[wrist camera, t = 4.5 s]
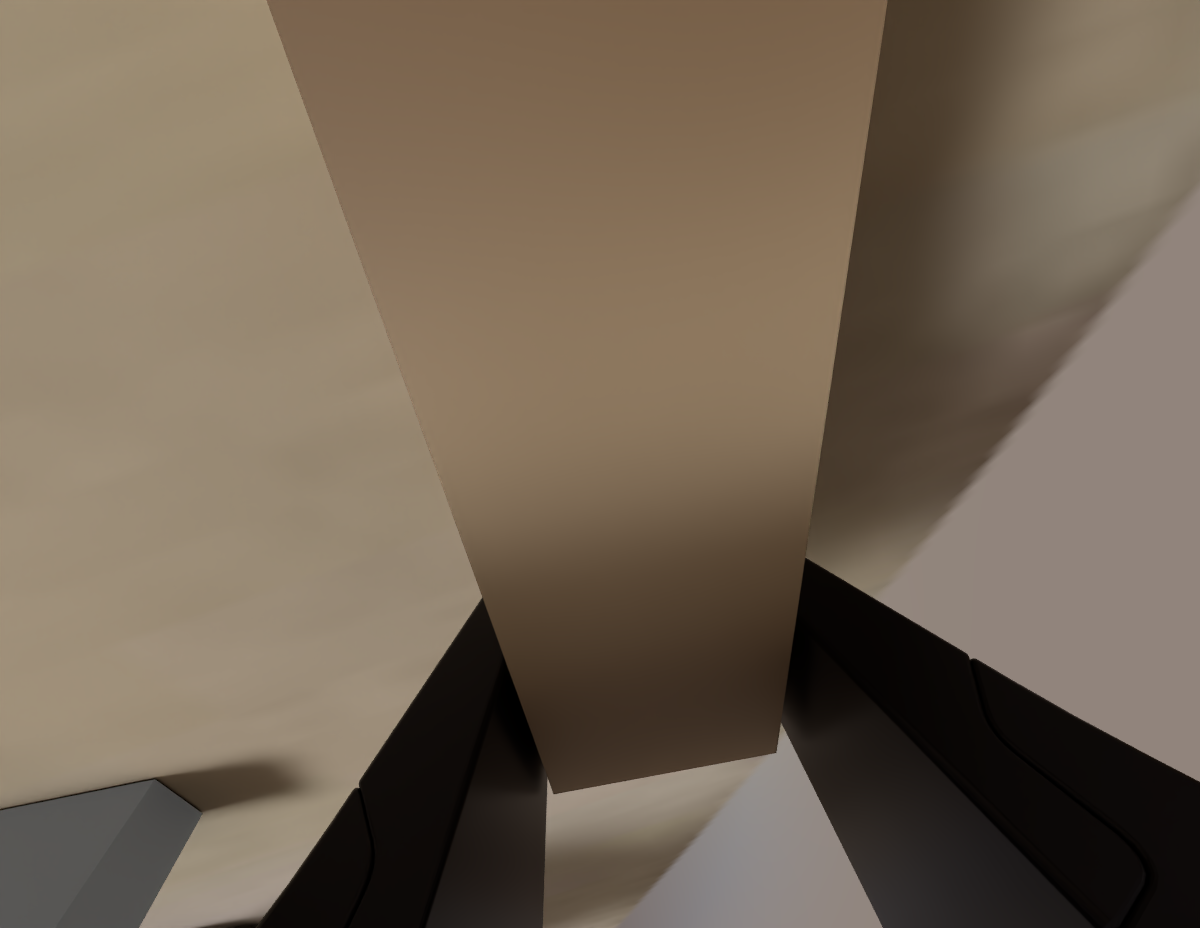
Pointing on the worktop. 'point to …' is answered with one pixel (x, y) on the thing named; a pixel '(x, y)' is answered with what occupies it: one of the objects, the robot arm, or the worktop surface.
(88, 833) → the stop batten
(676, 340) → the wooden l-shaped bracket
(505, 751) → the robot arm
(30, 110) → the worktop surface
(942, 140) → the worktop surface
